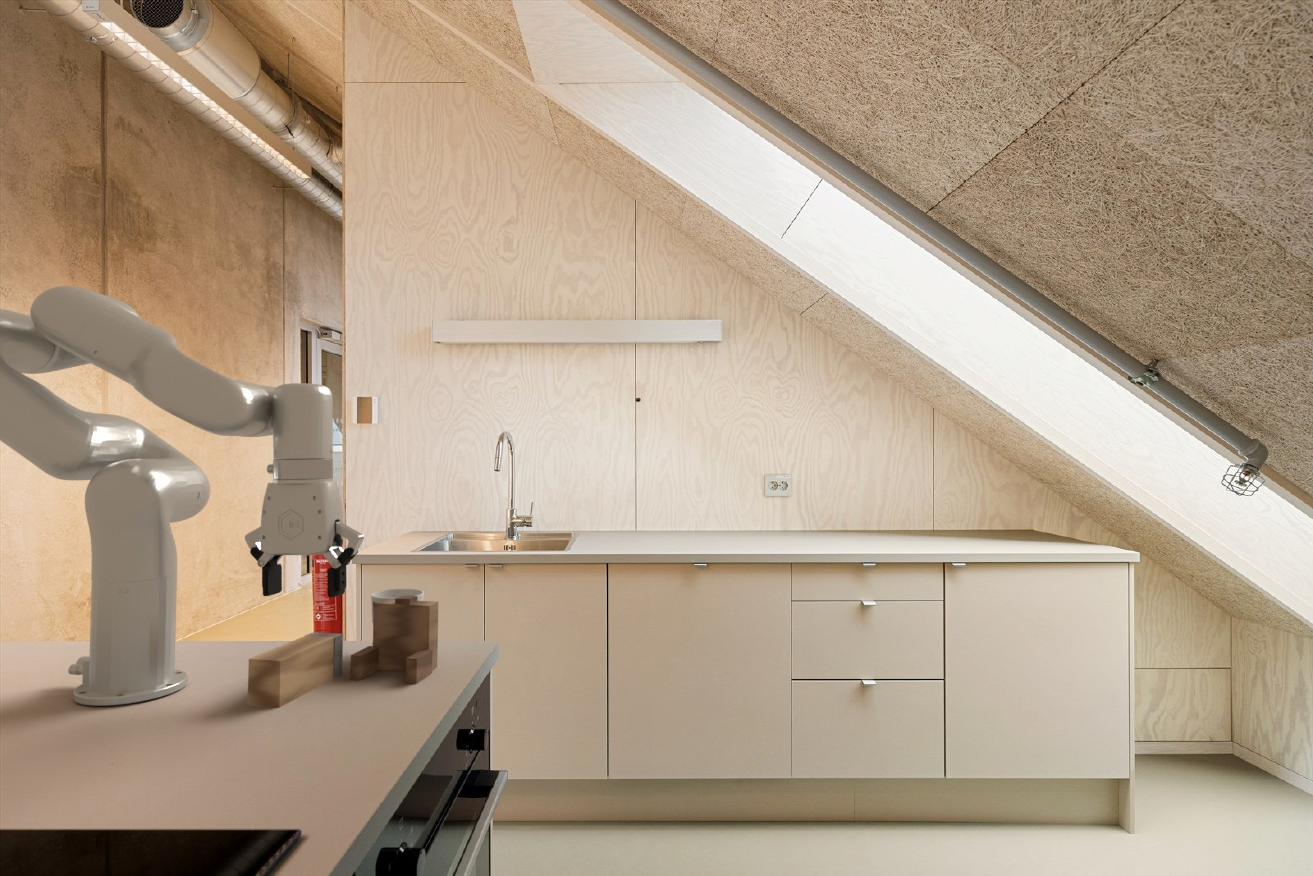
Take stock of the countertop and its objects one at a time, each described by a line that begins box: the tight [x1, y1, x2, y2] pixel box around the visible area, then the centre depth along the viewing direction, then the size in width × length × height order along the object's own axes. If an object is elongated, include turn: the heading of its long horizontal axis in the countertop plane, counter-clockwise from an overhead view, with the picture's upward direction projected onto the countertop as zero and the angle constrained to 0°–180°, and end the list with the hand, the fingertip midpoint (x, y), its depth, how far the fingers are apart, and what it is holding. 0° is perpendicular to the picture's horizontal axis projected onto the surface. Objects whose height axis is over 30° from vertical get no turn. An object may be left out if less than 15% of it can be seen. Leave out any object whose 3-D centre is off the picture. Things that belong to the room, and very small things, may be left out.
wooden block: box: [247, 631, 344, 708], centre depth 101 cm, size 5×14×6 cm, turn 172°
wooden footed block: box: [349, 595, 439, 684], centre depth 108 cm, size 10×8×11 cm
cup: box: [370, 588, 425, 623], centre depth 118 cm, size 8×8×10 cm
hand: (304, 594), depth 101 cm, fingers open, 9 cm apart
